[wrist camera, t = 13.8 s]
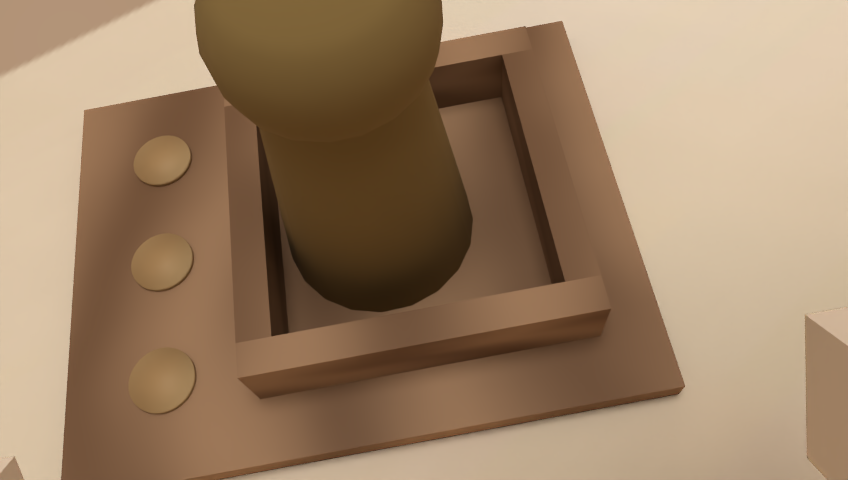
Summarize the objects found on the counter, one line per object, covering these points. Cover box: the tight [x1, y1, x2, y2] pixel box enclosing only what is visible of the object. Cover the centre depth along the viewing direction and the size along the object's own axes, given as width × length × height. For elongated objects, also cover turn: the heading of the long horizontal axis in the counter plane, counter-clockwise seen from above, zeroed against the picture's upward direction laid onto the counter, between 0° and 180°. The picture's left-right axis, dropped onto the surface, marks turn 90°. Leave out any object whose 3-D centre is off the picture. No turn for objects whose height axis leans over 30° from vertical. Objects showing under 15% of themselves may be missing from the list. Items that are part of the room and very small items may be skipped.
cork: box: [194, 0, 473, 312], centre depth 19 cm, size 6×6×11 cm
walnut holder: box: [61, 21, 685, 480], centre depth 23 cm, size 18×14×3 cm
